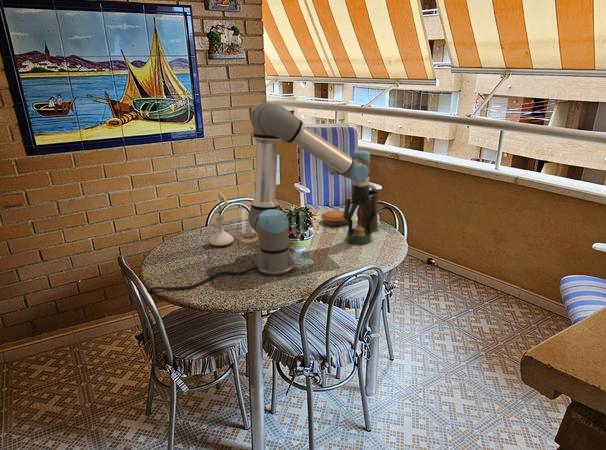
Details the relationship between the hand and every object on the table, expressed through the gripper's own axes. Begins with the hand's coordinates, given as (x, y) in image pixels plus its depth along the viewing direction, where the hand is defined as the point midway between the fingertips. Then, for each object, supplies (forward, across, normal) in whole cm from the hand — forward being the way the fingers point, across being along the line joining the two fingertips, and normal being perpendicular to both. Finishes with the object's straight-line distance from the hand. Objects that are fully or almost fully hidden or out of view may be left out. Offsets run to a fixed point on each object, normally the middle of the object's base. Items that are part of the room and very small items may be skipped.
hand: (359, 231), depth 194 cm
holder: (+4, 0, 0) cm, 4 cm away
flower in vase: (+5, -63, +18) cm, 66 cm away
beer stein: (+5, +11, +15) cm, 19 cm away
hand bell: (+4, 0, 0) cm, 4 cm away
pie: (+2, -2, +28) cm, 28 cm away
